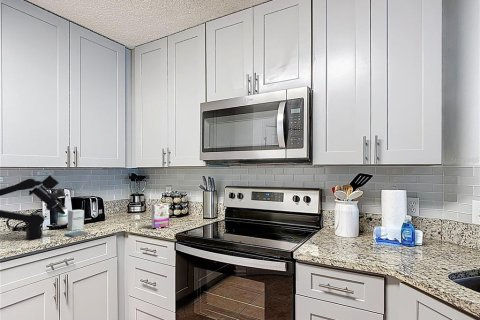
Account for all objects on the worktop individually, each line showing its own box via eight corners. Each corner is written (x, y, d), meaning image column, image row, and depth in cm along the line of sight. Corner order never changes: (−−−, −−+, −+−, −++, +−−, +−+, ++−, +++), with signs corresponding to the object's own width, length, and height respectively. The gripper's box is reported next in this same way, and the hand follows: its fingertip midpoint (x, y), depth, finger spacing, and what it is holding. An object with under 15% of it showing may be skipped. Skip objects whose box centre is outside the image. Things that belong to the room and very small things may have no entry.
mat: (73, 237, 161) (73, 235, 161) (64, 235, 165) (64, 233, 165) (88, 234, 169) (88, 232, 169) (79, 232, 173) (79, 230, 173)
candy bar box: (166, 226, 194) (166, 203, 195) (169, 227, 190) (169, 203, 191) (150, 228, 187) (151, 204, 188) (153, 229, 183) (154, 205, 184)
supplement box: (71, 230, 178) (72, 211, 179) (67, 229, 183) (67, 210, 183) (83, 228, 184) (84, 210, 184) (79, 227, 189) (79, 209, 189)
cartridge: (58, 225, 161) (59, 208, 161) (56, 224, 164) (57, 207, 165) (67, 224, 164) (68, 207, 165) (65, 223, 168) (66, 207, 168)
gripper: (54, 186, 155) (75, 205, 160) (57, 184, 172) (77, 201, 176) (36, 200, 151) (59, 219, 156) (41, 197, 168) (62, 214, 172)
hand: (65, 213), depth 165 cm, fingers closed on cartridge, 5 cm apart
